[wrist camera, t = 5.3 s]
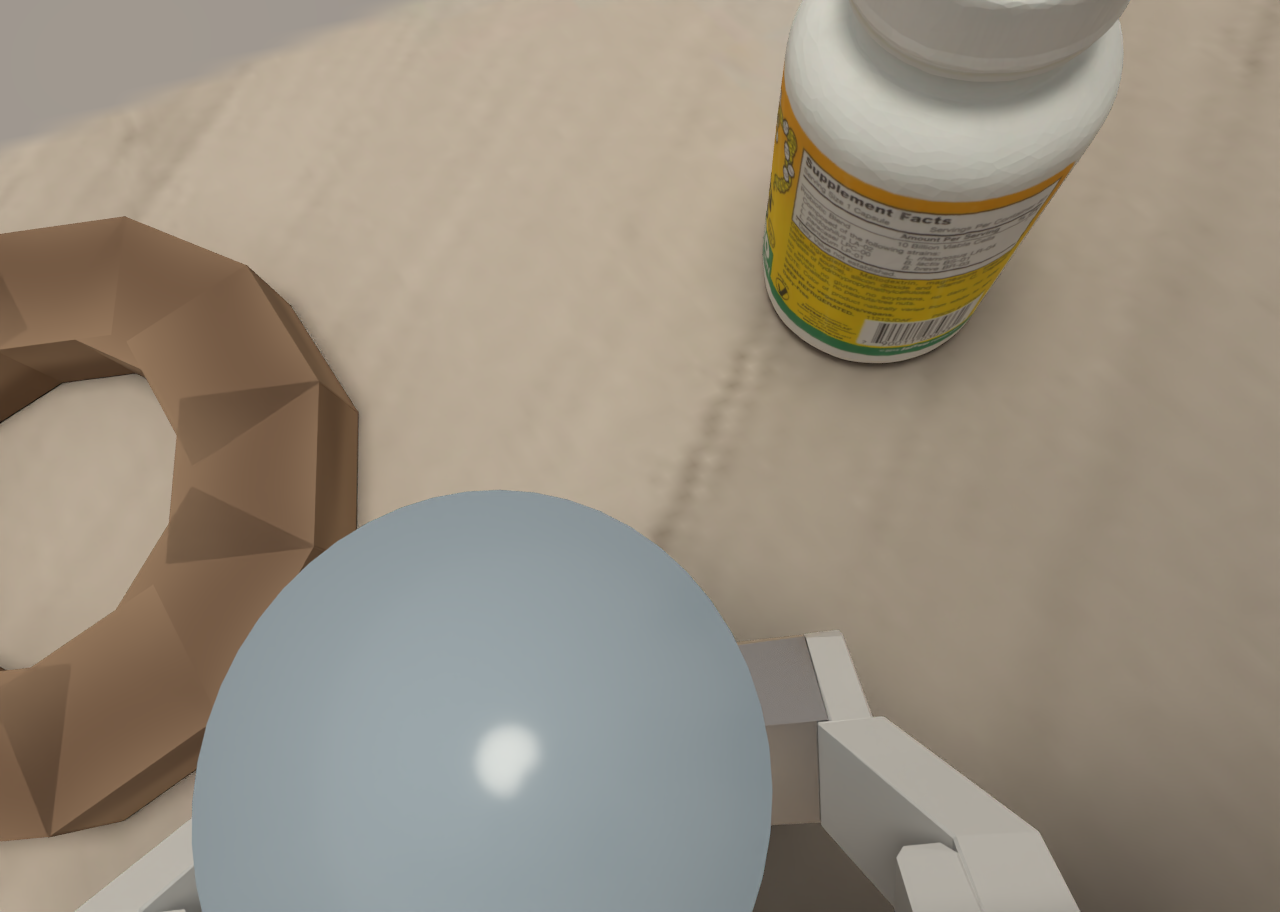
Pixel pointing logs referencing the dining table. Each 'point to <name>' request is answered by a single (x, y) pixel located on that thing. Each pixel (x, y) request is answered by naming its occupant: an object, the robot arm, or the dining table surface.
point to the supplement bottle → (923, 157)
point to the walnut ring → (199, 513)
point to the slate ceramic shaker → (485, 727)
